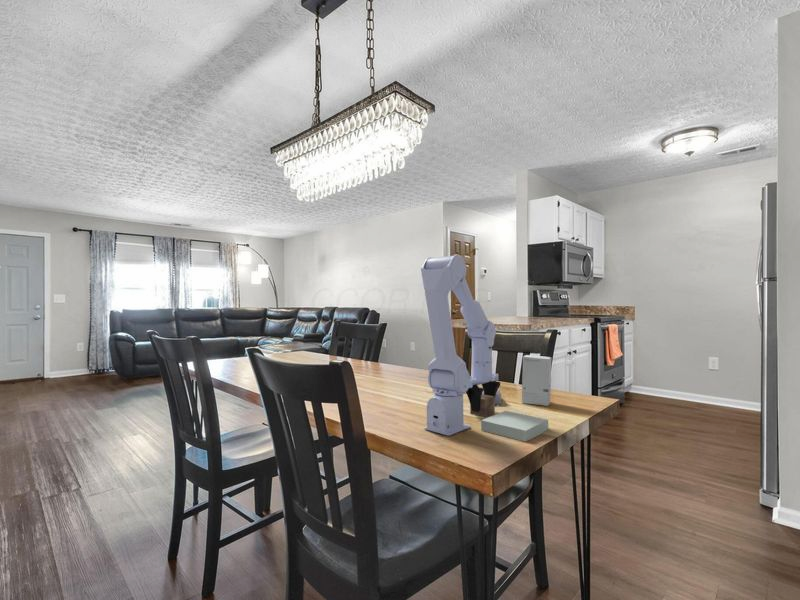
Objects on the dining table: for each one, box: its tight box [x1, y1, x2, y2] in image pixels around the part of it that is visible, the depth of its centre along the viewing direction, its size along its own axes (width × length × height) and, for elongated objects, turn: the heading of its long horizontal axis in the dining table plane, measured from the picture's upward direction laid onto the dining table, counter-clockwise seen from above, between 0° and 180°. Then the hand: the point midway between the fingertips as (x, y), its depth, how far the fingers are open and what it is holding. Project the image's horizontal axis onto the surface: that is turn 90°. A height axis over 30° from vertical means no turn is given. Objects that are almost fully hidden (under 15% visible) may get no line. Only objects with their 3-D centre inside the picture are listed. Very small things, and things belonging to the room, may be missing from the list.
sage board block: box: [480, 410, 549, 442], centre depth 100 cm, size 12×12×3 cm
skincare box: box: [521, 354, 552, 407], centre depth 127 cm, size 8×6×15 cm
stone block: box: [478, 386, 502, 405], centre depth 131 cm, size 12×5×10 cm
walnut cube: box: [469, 394, 496, 418], centre depth 115 cm, size 5×5×5 cm
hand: (482, 408), depth 115 cm, fingers open, 7 cm apart
